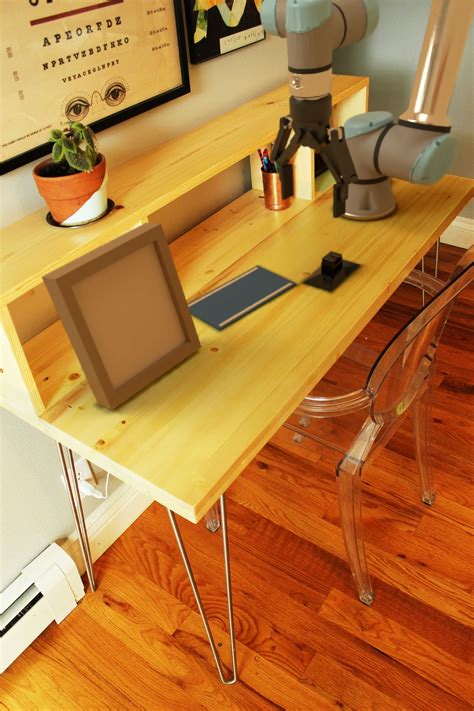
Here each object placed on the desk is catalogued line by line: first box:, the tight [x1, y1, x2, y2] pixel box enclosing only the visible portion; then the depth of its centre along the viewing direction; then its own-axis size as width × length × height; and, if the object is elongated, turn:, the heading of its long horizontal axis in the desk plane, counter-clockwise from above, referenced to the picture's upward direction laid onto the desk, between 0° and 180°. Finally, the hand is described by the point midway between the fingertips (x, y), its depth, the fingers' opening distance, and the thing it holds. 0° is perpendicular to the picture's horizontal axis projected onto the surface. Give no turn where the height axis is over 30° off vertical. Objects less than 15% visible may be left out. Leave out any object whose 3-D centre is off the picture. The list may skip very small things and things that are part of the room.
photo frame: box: [41, 222, 202, 411], centre depth 110 cm, size 15×22×25 cm
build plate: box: [302, 250, 361, 293], centre depth 135 cm, size 12×7×5 cm, turn 142°
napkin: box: [187, 265, 297, 331], centre depth 133 cm, size 22×12×1 cm, turn 132°
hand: (312, 206), depth 124 cm, fingers open, 13 cm apart
